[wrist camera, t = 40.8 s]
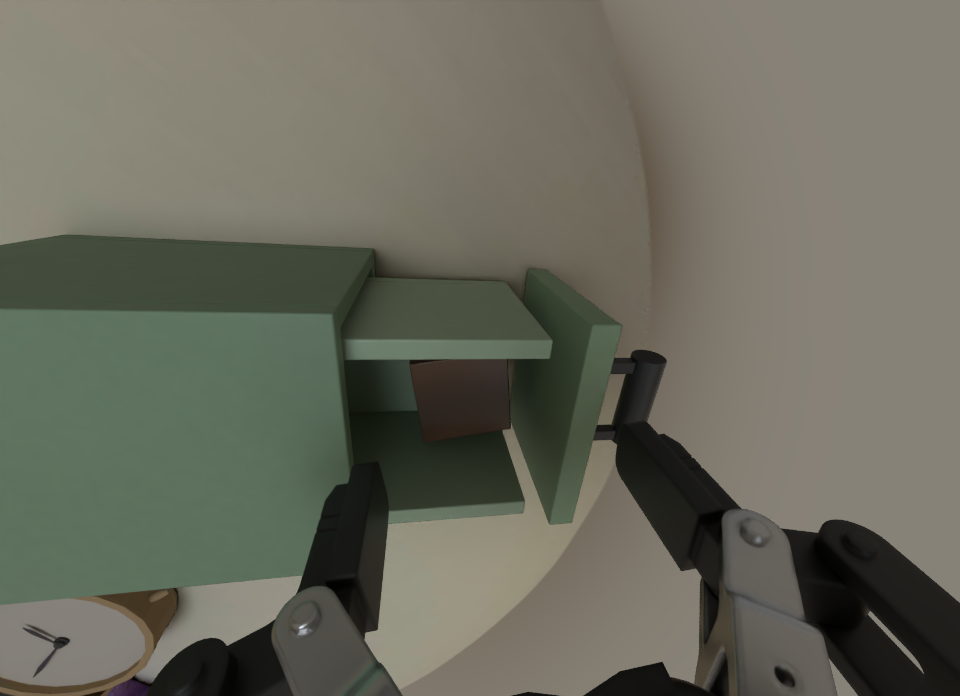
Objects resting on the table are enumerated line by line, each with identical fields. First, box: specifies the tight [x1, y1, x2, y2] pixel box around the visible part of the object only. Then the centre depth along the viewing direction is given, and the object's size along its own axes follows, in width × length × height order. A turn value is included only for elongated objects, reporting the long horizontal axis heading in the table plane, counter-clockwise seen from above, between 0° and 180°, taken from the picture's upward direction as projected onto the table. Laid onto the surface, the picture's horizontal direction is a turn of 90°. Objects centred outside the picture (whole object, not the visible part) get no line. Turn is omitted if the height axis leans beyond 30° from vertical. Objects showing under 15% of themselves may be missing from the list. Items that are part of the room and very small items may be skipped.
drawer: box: [340, 269, 667, 525], centre depth 18 cm, size 18×10×9 cm, turn 86°
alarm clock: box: [0, 588, 177, 696], centre depth 26 cm, size 11×5×15 cm
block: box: [409, 359, 511, 442], centre depth 19 cm, size 4×4×4 cm
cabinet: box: [0, 235, 375, 605], centre depth 16 cm, size 15×12×11 cm
